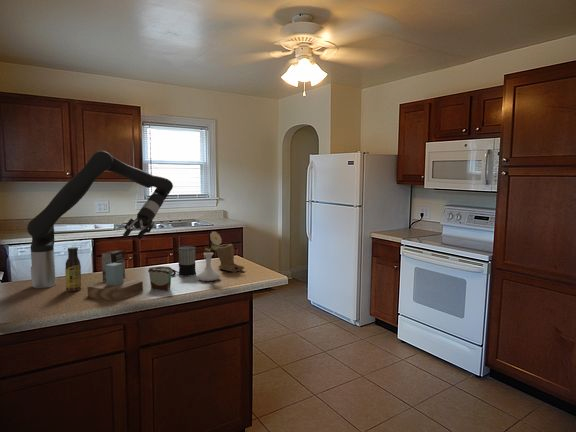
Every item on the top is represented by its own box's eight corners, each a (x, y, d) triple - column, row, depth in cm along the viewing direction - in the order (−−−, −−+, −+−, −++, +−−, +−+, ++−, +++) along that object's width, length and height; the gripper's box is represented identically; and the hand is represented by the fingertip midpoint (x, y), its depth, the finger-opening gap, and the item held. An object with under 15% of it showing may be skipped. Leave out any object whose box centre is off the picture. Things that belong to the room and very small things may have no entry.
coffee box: (114, 287, 180) (113, 253, 178) (102, 286, 181) (101, 253, 179) (126, 282, 189) (124, 250, 187) (114, 281, 190) (113, 249, 188)
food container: (178, 288, 179) (178, 267, 178) (170, 291, 173) (170, 270, 172) (157, 285, 183) (156, 265, 182) (148, 288, 177) (147, 268, 176)
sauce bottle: (70, 292, 170) (68, 249, 168) (63, 290, 173) (60, 248, 171) (84, 289, 176) (82, 247, 174) (77, 287, 179) (75, 246, 177)
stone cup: (212, 269, 216) (212, 243, 214) (230, 266, 223) (230, 241, 222) (226, 274, 204) (226, 247, 203) (244, 271, 212) (244, 245, 210)
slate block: (106, 284, 168) (105, 265, 167) (115, 282, 172) (114, 262, 171) (114, 285, 166) (113, 265, 165) (123, 283, 170) (122, 263, 169)
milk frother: (199, 274, 205) (199, 247, 204) (176, 280, 192) (176, 251, 191) (182, 270, 213) (181, 244, 212) (158, 276, 200) (158, 248, 198)
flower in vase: (204, 284, 185) (203, 234, 183) (193, 279, 194) (192, 231, 191) (227, 279, 194) (226, 231, 191) (215, 275, 202) (215, 229, 200)
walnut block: (87, 297, 166) (87, 286, 165) (117, 287, 180) (117, 277, 180) (114, 302, 159) (114, 290, 159) (143, 291, 174) (142, 281, 173)
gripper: (133, 206, 187) (115, 231, 177) (155, 207, 181) (138, 234, 172) (141, 215, 192) (124, 241, 183) (163, 217, 186) (147, 243, 177)
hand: (131, 237), depth 177 cm, fingers open, 8 cm apart
